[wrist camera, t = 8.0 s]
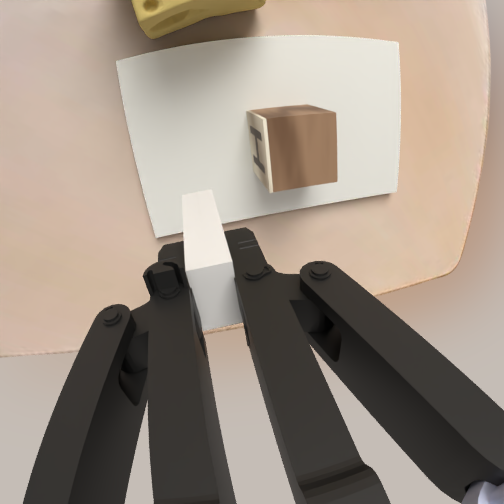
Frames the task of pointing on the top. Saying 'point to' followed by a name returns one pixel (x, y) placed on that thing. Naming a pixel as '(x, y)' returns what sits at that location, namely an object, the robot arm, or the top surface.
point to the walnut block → (293, 146)
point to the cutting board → (250, 98)
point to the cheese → (184, 13)
